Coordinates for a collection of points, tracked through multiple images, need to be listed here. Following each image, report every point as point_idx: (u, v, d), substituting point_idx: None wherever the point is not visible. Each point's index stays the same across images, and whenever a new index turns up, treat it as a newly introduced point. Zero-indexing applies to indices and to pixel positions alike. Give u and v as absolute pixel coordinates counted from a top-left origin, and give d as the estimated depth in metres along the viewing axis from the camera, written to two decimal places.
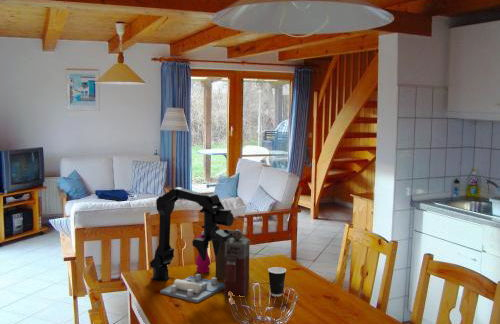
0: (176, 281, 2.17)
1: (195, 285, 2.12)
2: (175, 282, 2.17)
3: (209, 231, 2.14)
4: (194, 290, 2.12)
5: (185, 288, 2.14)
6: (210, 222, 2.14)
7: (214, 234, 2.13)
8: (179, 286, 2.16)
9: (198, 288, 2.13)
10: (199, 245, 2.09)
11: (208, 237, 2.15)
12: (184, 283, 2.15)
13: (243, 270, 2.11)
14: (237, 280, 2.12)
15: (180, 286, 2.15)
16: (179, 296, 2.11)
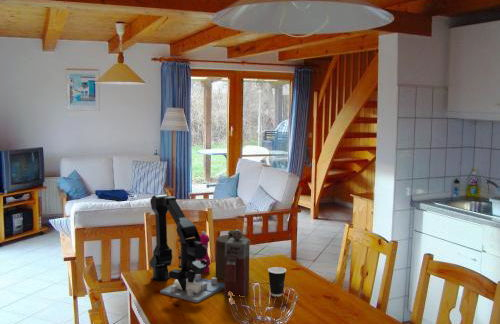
0: (176, 281, 2.17)
1: (195, 285, 2.12)
2: (175, 282, 2.17)
3: (186, 262, 2.12)
4: (194, 290, 2.12)
5: None
6: (184, 253, 2.12)
7: (191, 265, 2.11)
8: (179, 286, 2.16)
9: (198, 288, 2.13)
10: (175, 277, 2.07)
11: (185, 268, 2.12)
12: None
13: (243, 270, 2.11)
14: (237, 280, 2.12)
15: (180, 286, 2.15)
16: (179, 296, 2.11)
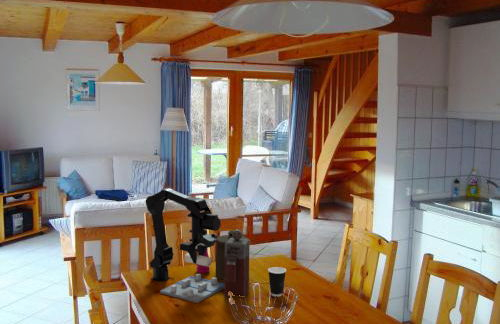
0: (187, 254, 2.23)
1: (205, 258, 2.18)
2: (186, 255, 2.23)
3: (197, 235, 2.17)
4: (204, 263, 2.17)
5: (196, 261, 2.19)
6: (197, 227, 2.17)
7: (201, 238, 2.16)
8: (190, 259, 2.21)
9: (208, 261, 2.18)
10: (186, 249, 2.12)
11: (195, 241, 2.18)
12: None
13: (243, 270, 2.11)
14: (237, 280, 2.12)
15: (191, 259, 2.21)
16: (179, 296, 2.11)
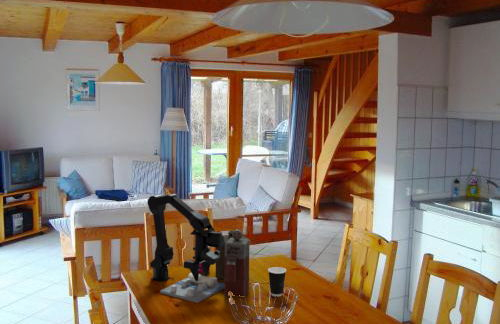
0: (190, 275, 2.26)
1: (209, 279, 2.21)
2: (189, 276, 2.26)
3: (200, 253, 2.20)
4: (208, 283, 2.20)
5: (199, 282, 2.23)
6: (201, 244, 2.20)
7: (205, 256, 2.19)
8: (193, 280, 2.24)
9: (211, 282, 2.21)
10: (190, 267, 2.15)
11: (199, 259, 2.21)
12: (198, 277, 2.23)
13: (243, 270, 2.11)
14: (237, 280, 2.12)
15: (194, 280, 2.24)
16: (179, 296, 2.11)
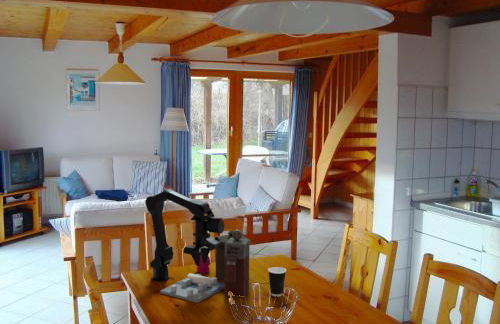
0: (188, 277, 2.25)
1: (207, 281, 2.20)
2: (188, 278, 2.25)
3: (200, 238, 2.20)
4: (207, 285, 2.20)
5: (198, 283, 2.22)
6: (201, 230, 2.19)
7: (205, 241, 2.18)
8: (192, 282, 2.24)
9: (210, 282, 2.20)
10: (190, 252, 2.14)
11: (199, 244, 2.20)
12: (196, 279, 2.22)
13: (243, 270, 2.11)
14: (237, 280, 2.12)
15: (193, 282, 2.23)
16: (179, 296, 2.11)
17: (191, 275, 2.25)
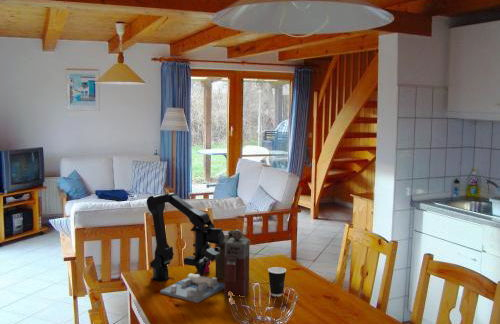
0: (189, 276, 2.25)
1: (208, 280, 2.20)
2: (188, 277, 2.25)
3: (200, 249, 2.20)
4: (207, 285, 2.20)
5: (199, 283, 2.22)
6: (201, 241, 2.20)
7: (205, 252, 2.19)
8: (193, 281, 2.24)
9: (211, 282, 2.21)
10: (190, 263, 2.15)
11: (199, 255, 2.21)
12: (197, 278, 2.23)
13: (243, 270, 2.11)
14: (237, 280, 2.12)
15: (194, 281, 2.23)
16: (179, 296, 2.11)
17: (192, 275, 2.25)
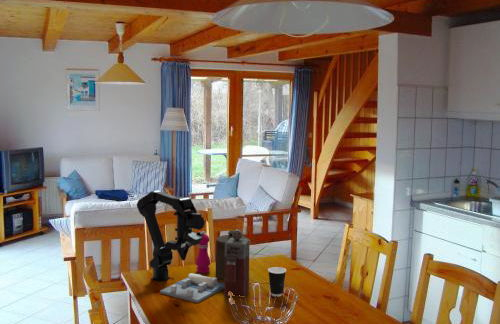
0: (190, 275, 2.25)
1: (208, 279, 2.20)
2: (189, 276, 2.25)
3: (182, 234, 2.20)
4: (208, 284, 2.20)
5: (199, 282, 2.22)
6: (182, 225, 2.19)
7: (187, 237, 2.18)
8: (193, 280, 2.24)
9: (211, 282, 2.21)
10: (171, 247, 2.14)
11: (181, 240, 2.20)
12: (198, 277, 2.23)
13: (243, 270, 2.11)
14: (237, 280, 2.12)
15: (194, 280, 2.23)
16: (179, 296, 2.11)
17: (193, 274, 2.26)
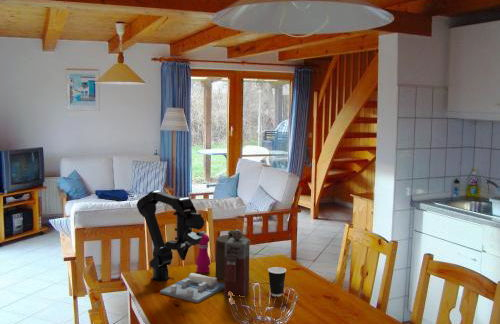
0: (191, 274, 2.26)
1: (210, 278, 2.21)
2: (190, 275, 2.26)
3: (182, 233, 2.20)
4: (209, 282, 2.20)
5: (200, 280, 2.23)
6: (182, 225, 2.19)
7: (186, 237, 2.18)
8: (194, 278, 2.24)
9: (212, 281, 2.21)
10: (171, 247, 2.14)
11: (181, 240, 2.20)
12: (199, 276, 2.24)
13: (243, 270, 2.11)
14: (237, 280, 2.12)
15: (195, 278, 2.24)
16: (179, 296, 2.11)
17: None
